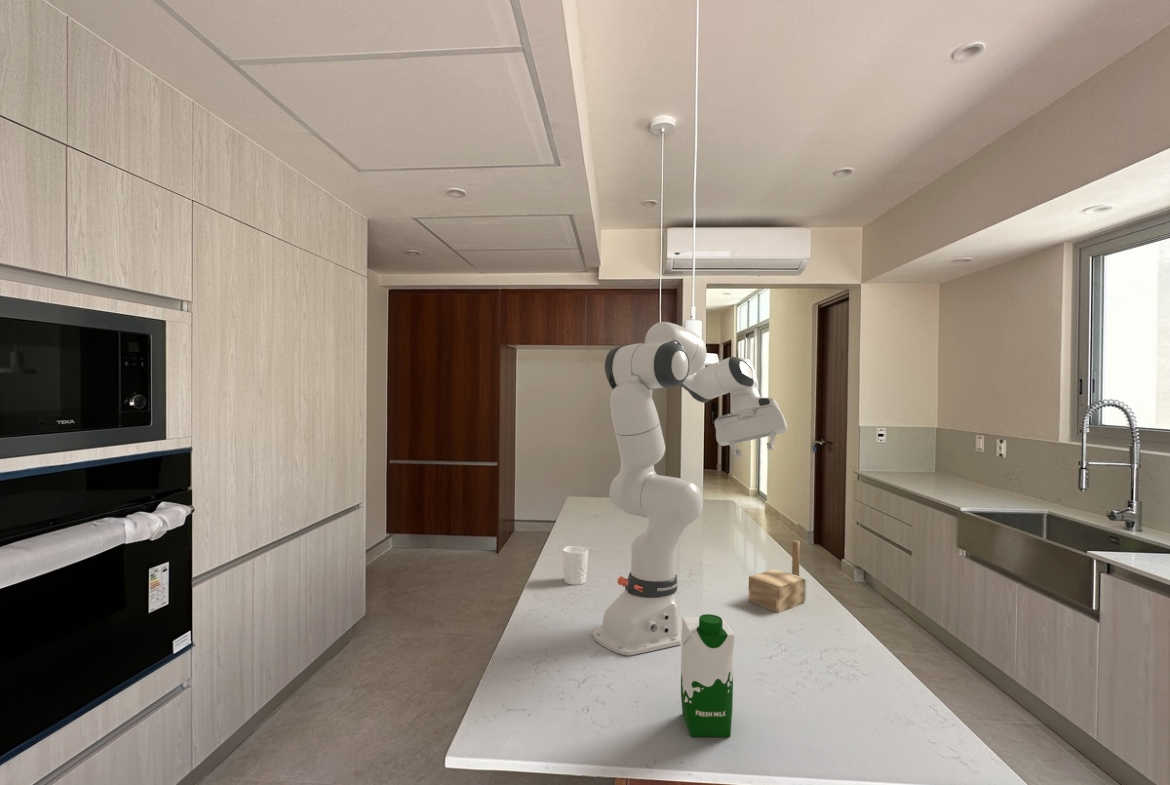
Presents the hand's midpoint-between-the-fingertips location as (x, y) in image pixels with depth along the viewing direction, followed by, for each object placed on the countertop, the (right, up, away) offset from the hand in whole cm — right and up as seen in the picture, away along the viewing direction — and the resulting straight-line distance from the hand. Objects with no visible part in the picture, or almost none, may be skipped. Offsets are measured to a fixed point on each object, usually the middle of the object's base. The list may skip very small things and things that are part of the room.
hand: (754, 452), depth 158 cm
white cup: (-52, -42, +15) cm, 68 cm away
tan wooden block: (+6, -43, +1) cm, 43 cm away
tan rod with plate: (+9, -43, +2) cm, 43 cm away
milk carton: (-27, -43, -59) cm, 77 cm away
